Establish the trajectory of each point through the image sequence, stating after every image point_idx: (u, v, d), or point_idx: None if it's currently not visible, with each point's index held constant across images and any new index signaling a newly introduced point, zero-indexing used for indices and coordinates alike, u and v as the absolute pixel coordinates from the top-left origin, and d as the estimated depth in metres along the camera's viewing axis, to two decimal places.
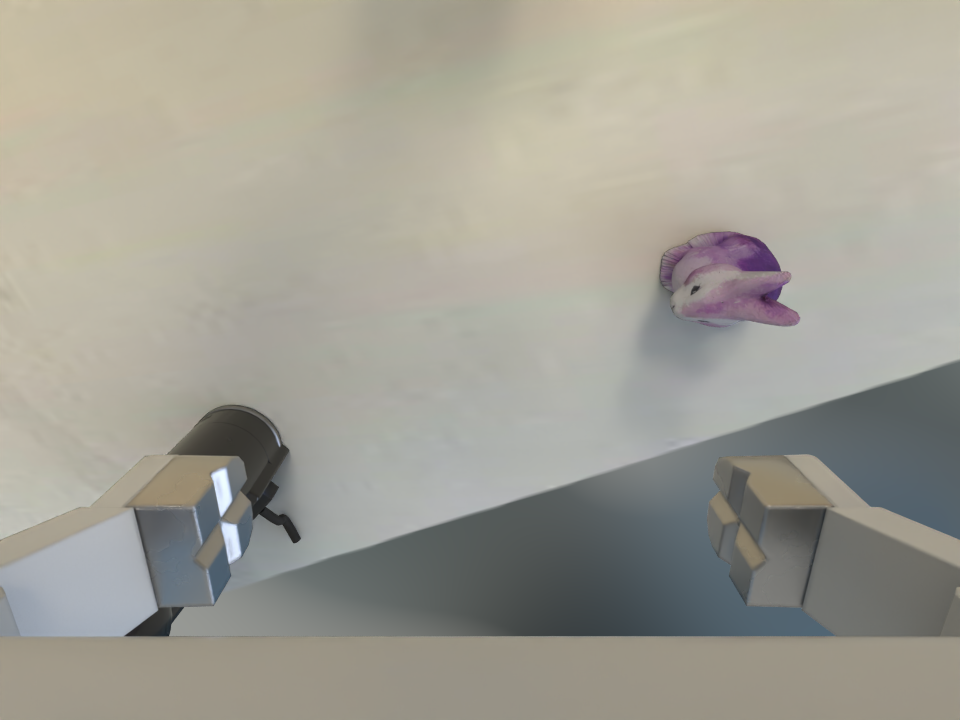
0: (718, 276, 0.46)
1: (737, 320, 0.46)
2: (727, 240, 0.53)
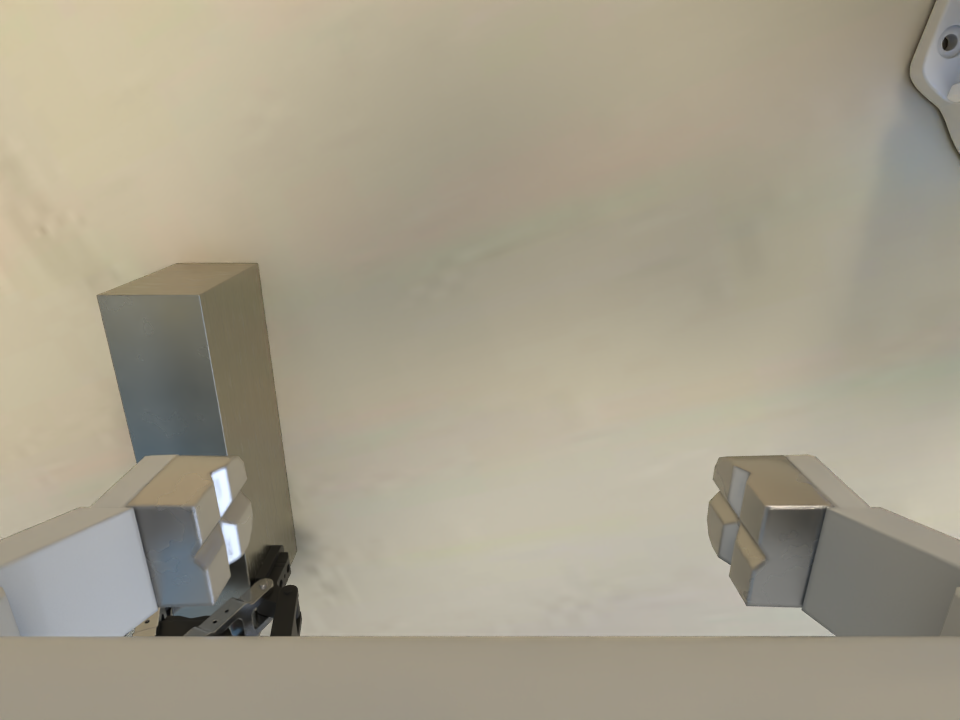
0: None
1: None
2: None
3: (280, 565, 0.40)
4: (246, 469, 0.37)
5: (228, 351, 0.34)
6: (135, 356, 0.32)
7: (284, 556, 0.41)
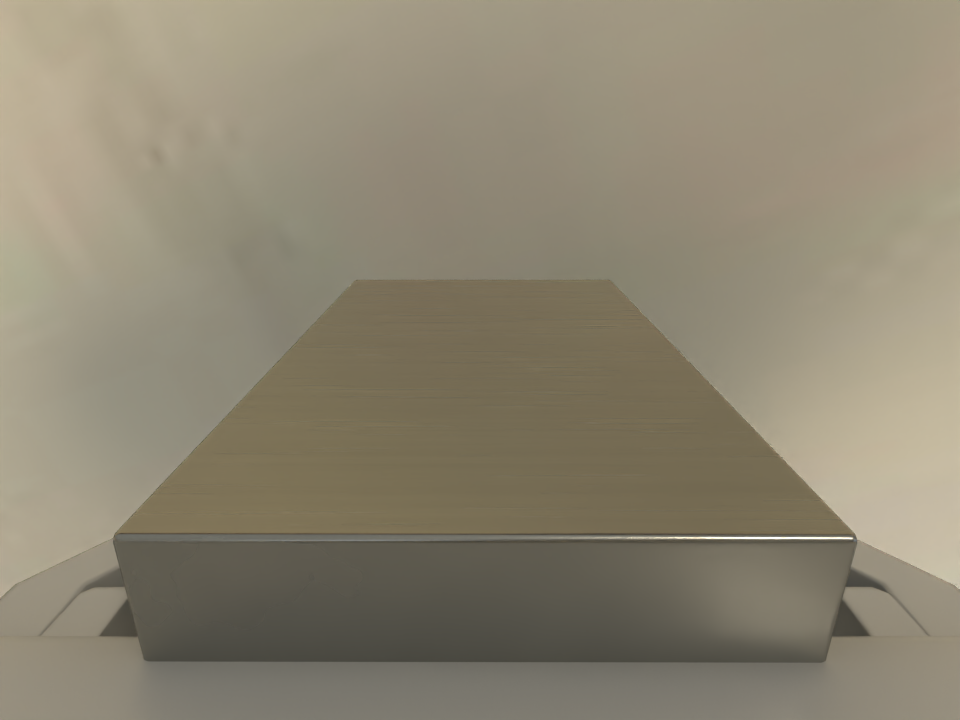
0: None
1: None
2: None
3: None
4: None
5: None
6: None
7: None
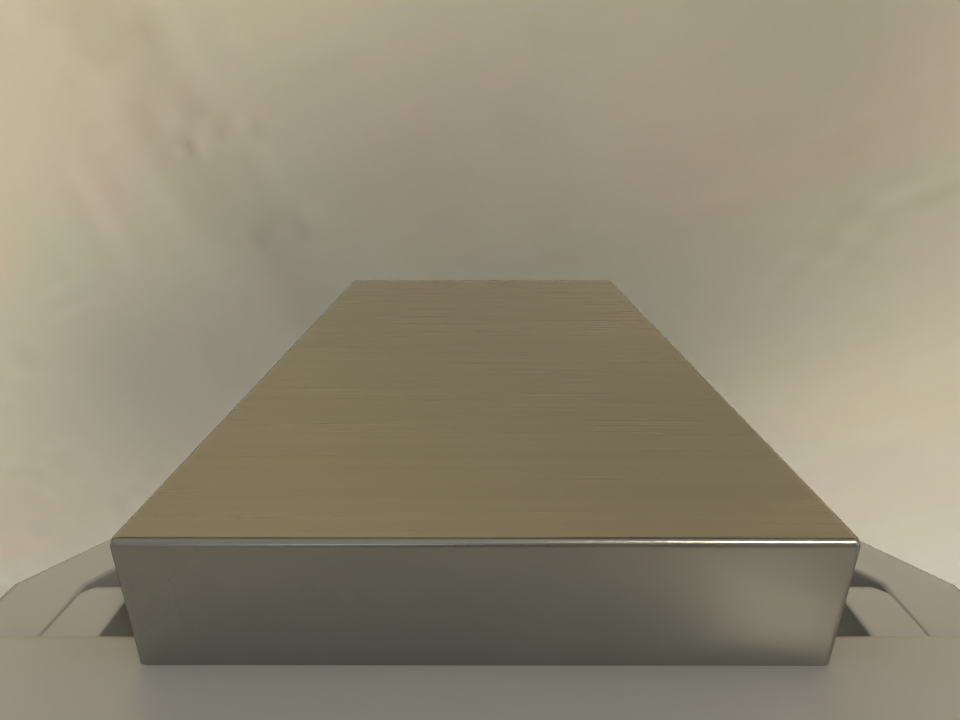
0: None
1: None
2: None
3: None
4: None
5: None
6: None
7: None
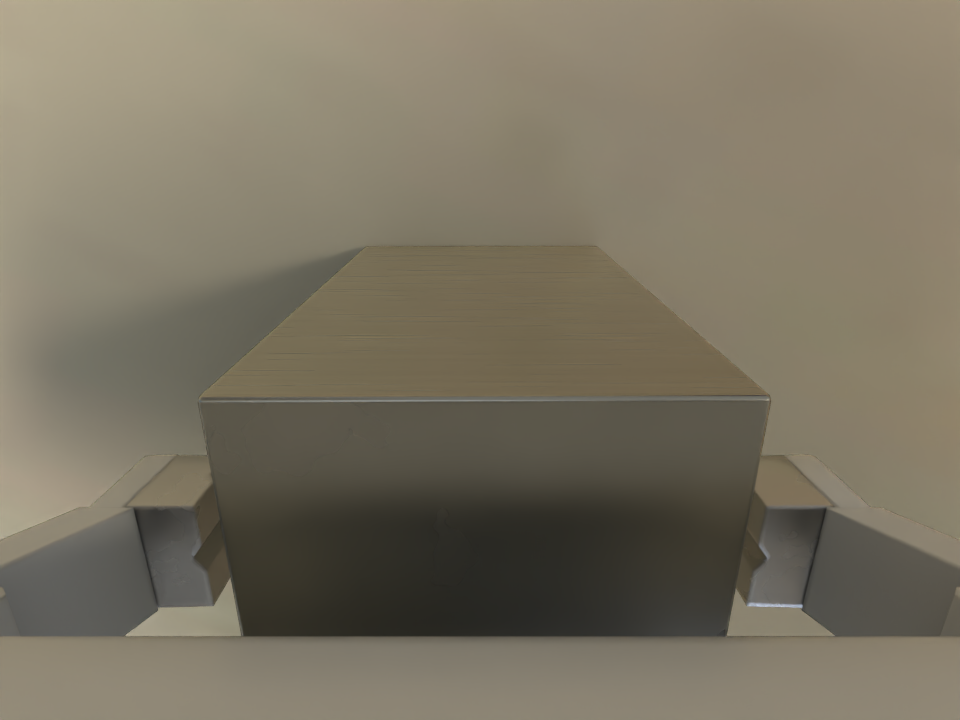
0: None
1: None
2: None
3: None
4: None
5: None
6: None
7: None
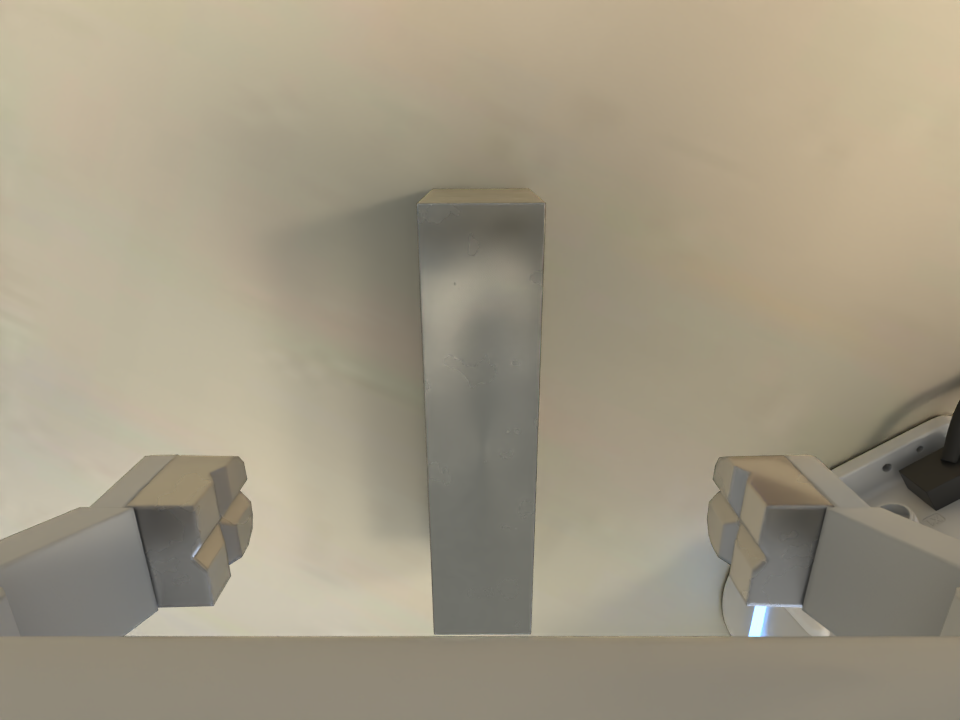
0: None
1: None
2: None
3: None
4: None
5: None
6: (450, 283, 0.26)
7: None
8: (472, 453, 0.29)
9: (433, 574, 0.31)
